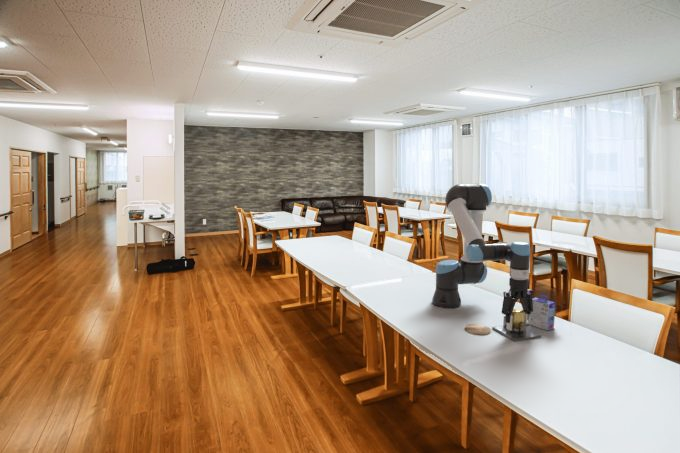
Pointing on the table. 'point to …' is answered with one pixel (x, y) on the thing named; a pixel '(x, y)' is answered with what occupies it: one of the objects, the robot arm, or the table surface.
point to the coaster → (477, 329)
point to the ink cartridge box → (542, 313)
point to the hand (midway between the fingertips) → (516, 328)
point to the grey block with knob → (517, 332)
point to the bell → (518, 319)
